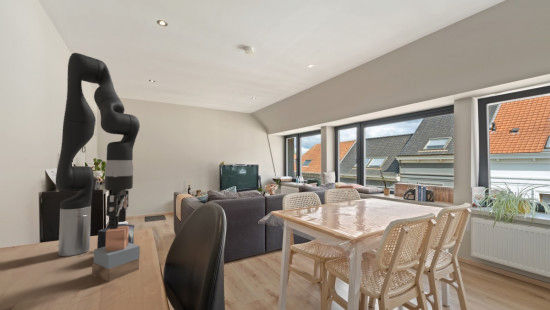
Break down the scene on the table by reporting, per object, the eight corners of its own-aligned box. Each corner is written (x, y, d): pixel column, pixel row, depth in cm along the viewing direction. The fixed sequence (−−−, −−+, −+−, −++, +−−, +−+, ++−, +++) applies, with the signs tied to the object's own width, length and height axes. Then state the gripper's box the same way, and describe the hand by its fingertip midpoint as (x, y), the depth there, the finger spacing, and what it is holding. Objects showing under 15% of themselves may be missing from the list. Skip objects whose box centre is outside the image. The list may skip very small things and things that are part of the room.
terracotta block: (110, 245, 76) (111, 227, 77) (128, 244, 78) (128, 225, 78) (105, 251, 72) (105, 231, 72) (124, 249, 73) (124, 229, 74)
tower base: (91, 276, 72) (92, 263, 72) (121, 265, 80) (122, 253, 80) (109, 283, 68) (109, 269, 68) (138, 270, 76) (139, 258, 76)
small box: (110, 262, 82) (111, 231, 82) (95, 260, 83) (96, 230, 84) (134, 251, 92) (135, 224, 93) (120, 249, 94) (121, 223, 94)
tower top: (93, 262, 73) (94, 249, 73) (124, 253, 81) (124, 241, 81) (108, 269, 68) (108, 255, 69) (139, 258, 76) (139, 245, 76)
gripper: (112, 173, 81) (111, 220, 81) (97, 175, 68) (95, 232, 67) (137, 173, 84) (136, 219, 83) (126, 175, 70) (125, 230, 70)
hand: (117, 225), depth 75 cm, fingers open, 8 cm apart
